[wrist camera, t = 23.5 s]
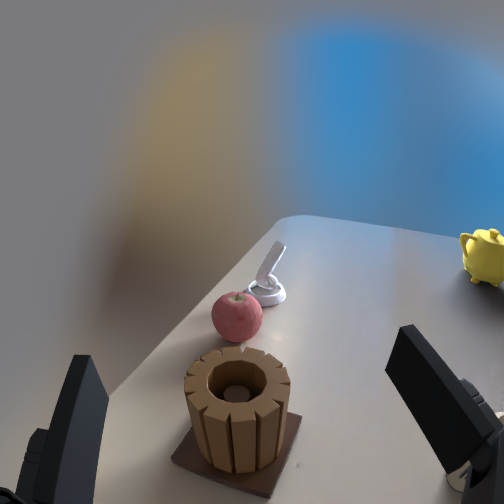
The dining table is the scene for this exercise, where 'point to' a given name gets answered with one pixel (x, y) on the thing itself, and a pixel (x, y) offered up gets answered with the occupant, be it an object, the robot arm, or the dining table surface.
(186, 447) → the tape stand
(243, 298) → the apple
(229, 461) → the wooden slatted pot
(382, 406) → the dining table surface
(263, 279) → the hook
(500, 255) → the teapot
